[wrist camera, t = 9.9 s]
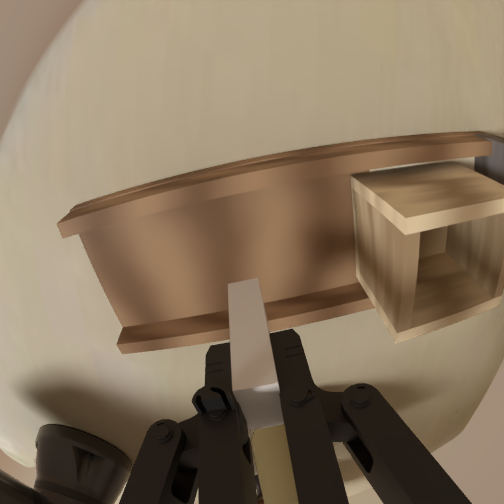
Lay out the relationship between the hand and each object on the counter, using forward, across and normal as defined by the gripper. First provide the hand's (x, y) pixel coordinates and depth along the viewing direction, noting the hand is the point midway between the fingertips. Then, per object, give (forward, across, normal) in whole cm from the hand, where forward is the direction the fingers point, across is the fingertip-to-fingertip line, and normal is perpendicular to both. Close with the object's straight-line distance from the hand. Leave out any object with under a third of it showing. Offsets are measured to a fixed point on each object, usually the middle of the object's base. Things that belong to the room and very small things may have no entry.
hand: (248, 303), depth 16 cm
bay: (+6, +5, 0) cm, 8 cm away
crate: (+5, +11, 0) cm, 12 cm away
